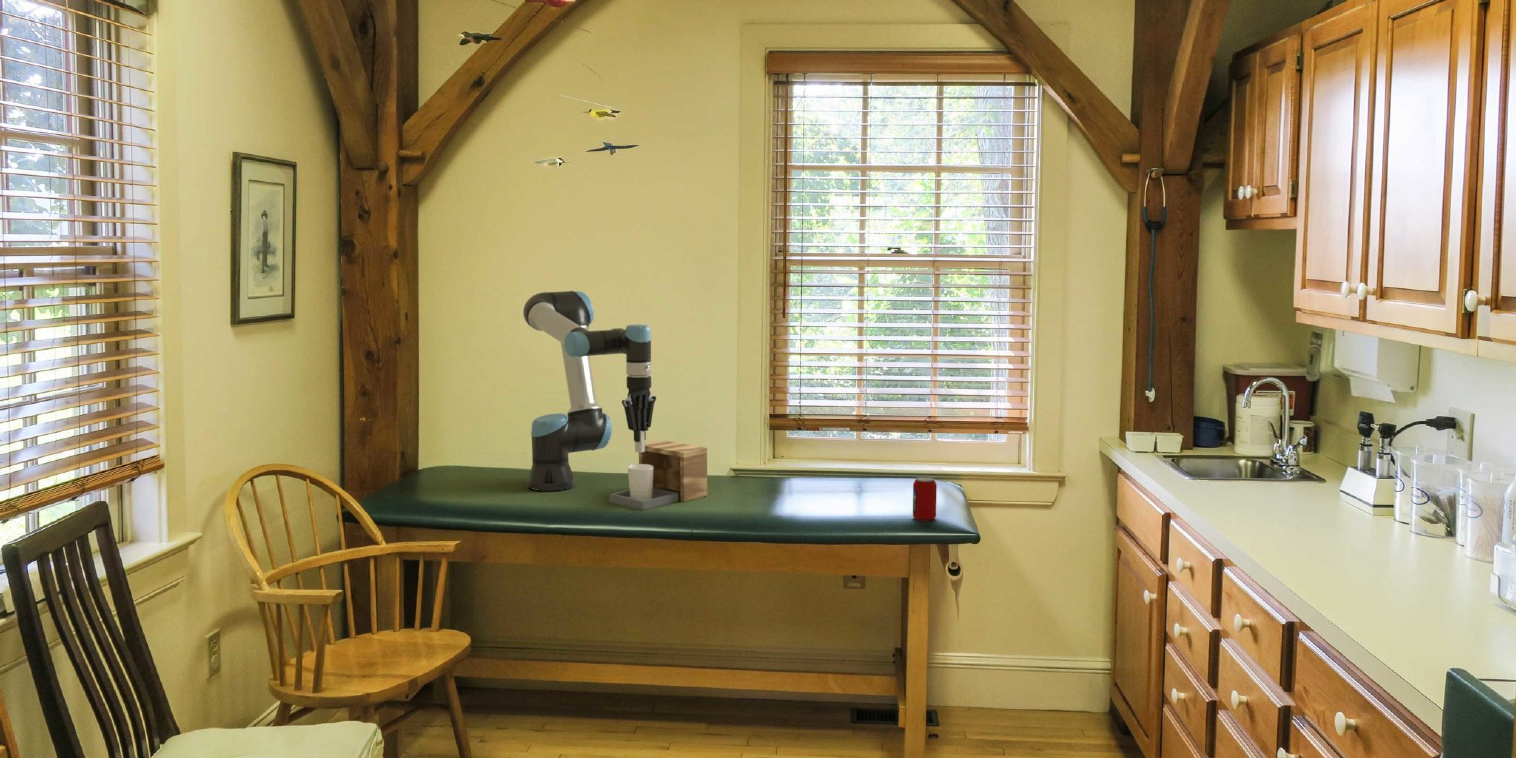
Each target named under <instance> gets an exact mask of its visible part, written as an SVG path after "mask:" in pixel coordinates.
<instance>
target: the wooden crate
mask: <svg viewBox="0 0 1516 758" xmlns="http://www.w3.org/2000/svg"><path fill="white" fill-rule="evenodd" d="M638 464H648V465H652V466H653V467H654V468H653V488H657V489H666V490H672V491H675V492H680V502H682V503H687V502H690V501H693V500H692V499H694V500H698V499H702V498H704V496H706V497H708V447H705V446H699V445H692V444H686V443H680V442H675V441H668V440H662V439H660V440H657V441H652V442H647V443H645V452H642V453H641V452H638ZM701 497H702V498H701Z"/></svg>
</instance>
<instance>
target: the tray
mask: <svg viewBox="0 0 1516 758" xmlns="http://www.w3.org/2000/svg"><path fill="white" fill-rule="evenodd" d="M678 501H679V492H677V491H670V490H667V489H666V490H665V489H663V488H661V489H657V488H653V489H652V498H651V499H648V500H644V501H643V500H638V499H634V498H630V489H626V490H623V491H617V492H614V493H609V503H612V504H616V505H621V506H626V507H629V508H632V509H633V508H634V509H638V510H642V511H643V510H648V509H652V508H656V507H659V506H664V505H668V504H671V503H675V502H678Z"/></svg>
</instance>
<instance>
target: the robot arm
mask: <svg viewBox="0 0 1516 758" xmlns="http://www.w3.org/2000/svg"><path fill="white" fill-rule="evenodd" d="M594 312H595V311H594V306H593V303H592V301H591V299H590V297H589V296H588V295H587V294H586V293H585V292H583V291H574V290H569V291H568V290H565V291H548V292H547V291H544V292H539V293H536V294H533V295H531V297H530V298H528V299H527V301H526V302H525V303H524V307H523V313H522V315H523V317H524V321H525V322H526V324H527V325H528V326H529V327H531V328H533V329H534V331H535V330H536V331H539V332H544V333H546V334H547V335H549V336H551V337H552V338H554V339H555V340H557V342H560V346H561V351H562V352H561V353H562V358H563V365H564V371H565V372H564V373H565V377H566V378H565V379H566V384H567V390H568V398H569V405H570V408H569V410H568V411H567V412H566V413H559V412H558V413H549V414H545V415H542V416H538V417H536V418H535V419H533V421H532V423H531V432H530V436H531V457H532V458H531V461H532V463H531V468H530V472H529V476H528V478H527V488H528V487H529V488H534V489H538V490H551V491H550V492H555V491H554V490H560V491H565V490H564V489H566V490H569V488H570V489H572V488H574V487H575V477H574V476H573V472H572V469H571V466H570V463H569V462H570V461H569V454H570V453H579V452H587V451H596V450H600V449H604V448H605V447H607V446H608V445H609V442H610V440H611V438H612V430H613V425H612V420H611V418H610V416H609V415H608V414H607V413H604V412H603V407H602V406H601V405H599V404H598V403H597V399H596V392H595V391H596V390H595V386H594V379H593V373H592V367H591V361H590V357H591V356H593V357H594V356H604V355H618V354H621V355H623V354H625V359H626V361H625V364H626V366H625V370H626V371H625V373H626V389H627V390H628V391H627V398H625V399H622V400H621V404H622V406H623V407H624V413H625V418H626V425H627V429H628V430H630V431H633V441H634V452H636V453H639V452H641V453H642V452H645V444H646V443H645V442H646V440H647V439H646V438H647V437H646V435H647V433H646V431H647V432H648V431H649V429H650V428H651V426H652V422H653V421H652V419H653V412H654V407H655V403H656V400H657V397H656V396H655V395H652V394H651V390H650V389H651V388H652V377H651V376H650V375H652V336H651V327H650V326H649V325H648V324H629V325H626V327H625V328H622V327H621V328H620V327H619V328H616V327H615V328H611V329H605V330H604V329H603V330H590V325H591V324H592V323H593V321H594V316H595V315H594ZM529 488H528V489H529ZM552 490H553V491H552Z"/></svg>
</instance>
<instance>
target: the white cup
mask: <svg viewBox="0 0 1516 758" xmlns="http://www.w3.org/2000/svg"><path fill="white" fill-rule="evenodd" d="M653 468H654V467H653V466H652V465H648V464H639V463H637V464H631V465H628V466H627V473H628V475H627V476H628V490H630V498H634V499H638V500H643V501H644V500H648V499H651V498H652V489H653Z"/></svg>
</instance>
